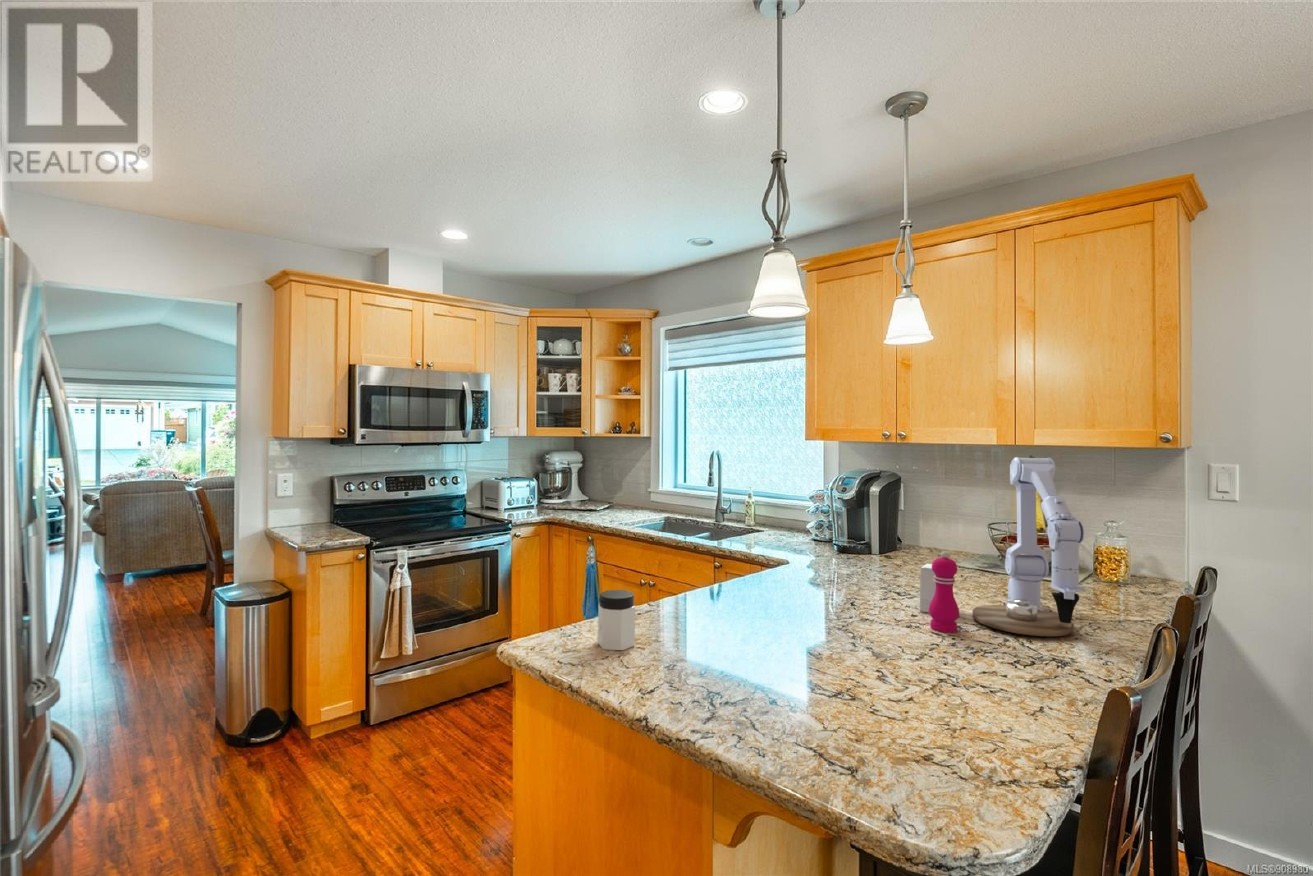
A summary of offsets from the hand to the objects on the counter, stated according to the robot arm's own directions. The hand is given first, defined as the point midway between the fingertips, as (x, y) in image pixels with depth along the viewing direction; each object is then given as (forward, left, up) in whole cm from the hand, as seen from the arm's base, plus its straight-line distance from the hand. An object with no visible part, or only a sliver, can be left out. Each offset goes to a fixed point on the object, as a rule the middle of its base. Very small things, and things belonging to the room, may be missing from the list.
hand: (1065, 622), depth 153 cm
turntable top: (-7, -7, -4) cm, 11 cm away
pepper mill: (+1, -28, -4) cm, 29 cm away
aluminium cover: (-7, -7, -1) cm, 10 cm away
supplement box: (-16, -26, -4) cm, 31 cm away
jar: (+32, -107, -4) cm, 112 cm away
